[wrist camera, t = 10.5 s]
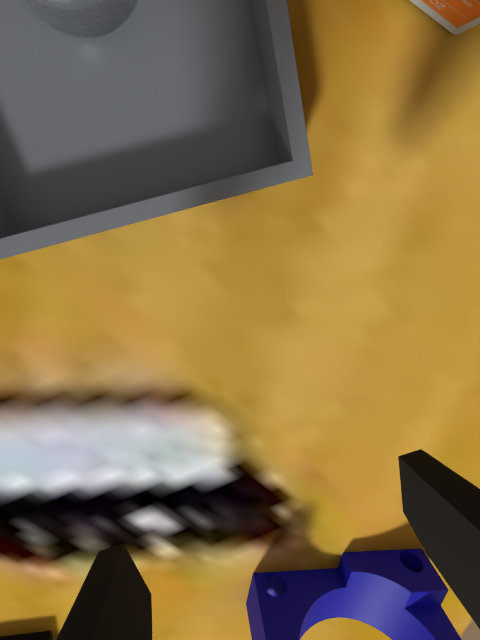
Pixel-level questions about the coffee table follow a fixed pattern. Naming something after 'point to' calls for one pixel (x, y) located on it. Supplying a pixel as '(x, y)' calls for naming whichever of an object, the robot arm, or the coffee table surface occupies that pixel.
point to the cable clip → (353, 597)
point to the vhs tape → (30, 636)
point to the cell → (83, 15)
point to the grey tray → (143, 116)
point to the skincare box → (452, 13)
